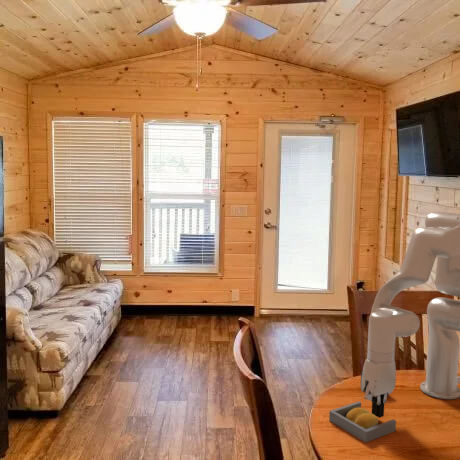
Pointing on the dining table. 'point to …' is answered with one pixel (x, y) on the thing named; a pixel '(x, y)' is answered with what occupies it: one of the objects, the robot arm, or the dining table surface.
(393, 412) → the dining table surface
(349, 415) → the bread roll
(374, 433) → the box
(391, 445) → the dining table surface
